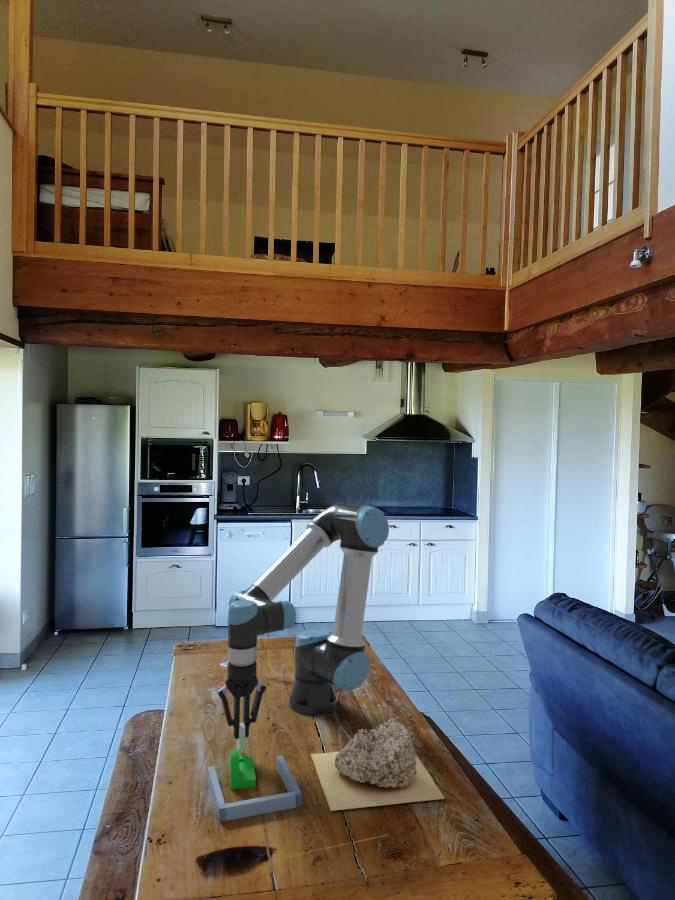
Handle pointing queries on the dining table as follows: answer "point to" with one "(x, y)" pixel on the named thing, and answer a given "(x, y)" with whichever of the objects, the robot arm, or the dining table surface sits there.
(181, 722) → the dining table surface
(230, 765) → the mechanical part
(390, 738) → the rock
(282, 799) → the hub cradle
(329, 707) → the robot arm
